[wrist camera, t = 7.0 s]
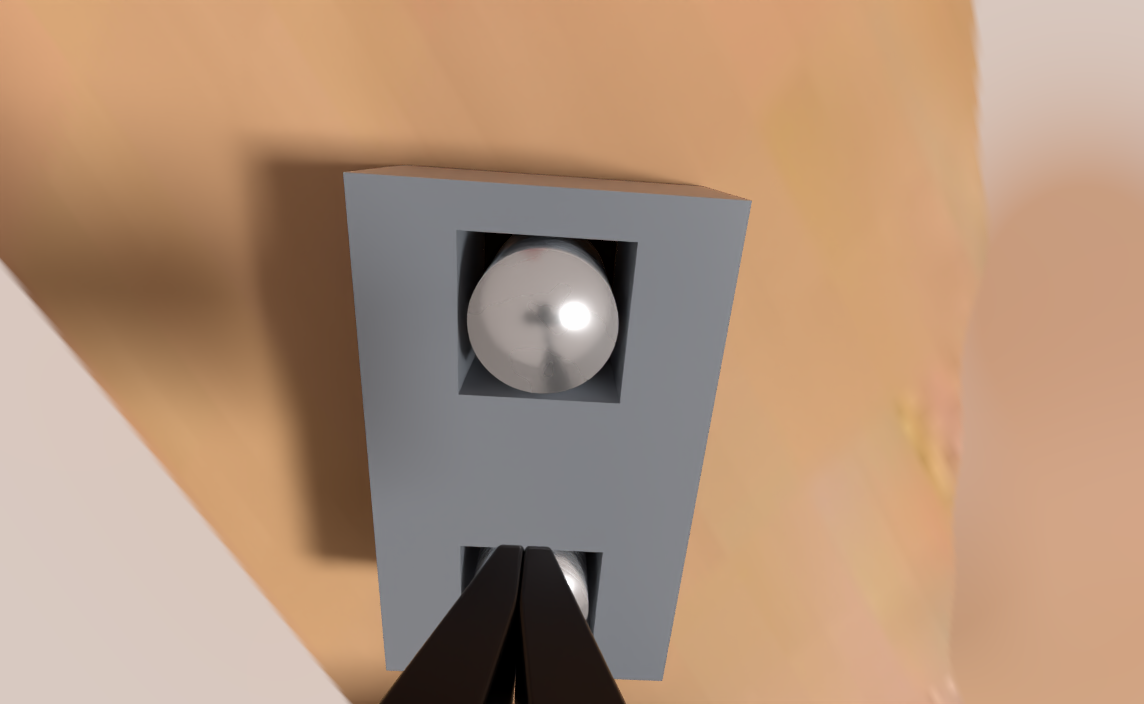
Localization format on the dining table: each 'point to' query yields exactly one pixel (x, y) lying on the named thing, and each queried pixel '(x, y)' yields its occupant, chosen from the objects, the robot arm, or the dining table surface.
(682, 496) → the socket block
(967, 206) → the dining table surface
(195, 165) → the dining table surface
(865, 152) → the dining table surface
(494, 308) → the peg
